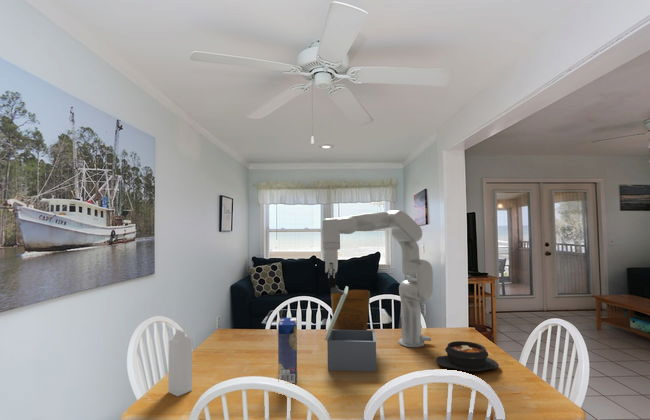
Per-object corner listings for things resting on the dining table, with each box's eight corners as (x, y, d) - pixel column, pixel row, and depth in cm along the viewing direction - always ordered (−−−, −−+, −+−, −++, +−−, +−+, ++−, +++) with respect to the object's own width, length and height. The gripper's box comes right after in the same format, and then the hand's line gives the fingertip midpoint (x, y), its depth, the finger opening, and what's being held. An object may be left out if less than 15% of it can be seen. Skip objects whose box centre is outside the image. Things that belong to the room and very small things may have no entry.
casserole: (441, 375, 145) (441, 354, 146) (431, 358, 164) (431, 339, 164) (506, 376, 144) (506, 355, 144) (489, 359, 162) (488, 339, 162)
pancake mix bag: (370, 349, 175) (369, 290, 176) (331, 347, 179) (330, 290, 180) (371, 344, 182) (370, 288, 183) (333, 343, 185) (332, 287, 186)
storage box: (374, 357, 165) (374, 330, 166) (376, 371, 149) (375, 341, 150) (330, 356, 167) (330, 329, 168) (327, 370, 151) (327, 340, 152)
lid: (348, 286, 168) (334, 280, 169) (347, 294, 151) (331, 287, 152) (330, 328, 168) (316, 322, 169) (327, 340, 151) (311, 333, 152)
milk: (183, 386, 138) (183, 327, 139) (192, 390, 134) (192, 329, 135) (167, 392, 133) (168, 330, 134) (177, 397, 129) (177, 333, 130)
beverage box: (297, 371, 150) (296, 317, 151) (296, 382, 140) (296, 324, 140) (280, 371, 150) (280, 317, 151) (278, 383, 139) (278, 325, 140)
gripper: (325, 244, 170) (326, 281, 170) (321, 248, 153) (322, 289, 152) (341, 244, 169) (342, 281, 169) (338, 247, 152) (340, 288, 152)
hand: (332, 285), depth 161 cm, fingers open, 9 cm apart
